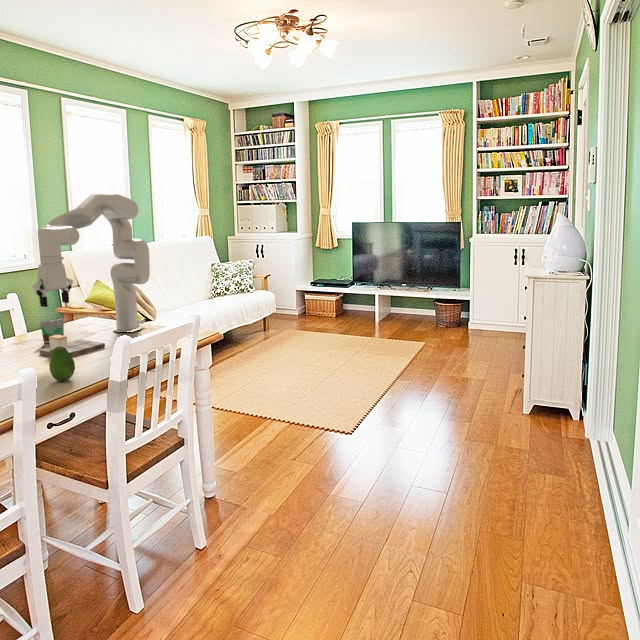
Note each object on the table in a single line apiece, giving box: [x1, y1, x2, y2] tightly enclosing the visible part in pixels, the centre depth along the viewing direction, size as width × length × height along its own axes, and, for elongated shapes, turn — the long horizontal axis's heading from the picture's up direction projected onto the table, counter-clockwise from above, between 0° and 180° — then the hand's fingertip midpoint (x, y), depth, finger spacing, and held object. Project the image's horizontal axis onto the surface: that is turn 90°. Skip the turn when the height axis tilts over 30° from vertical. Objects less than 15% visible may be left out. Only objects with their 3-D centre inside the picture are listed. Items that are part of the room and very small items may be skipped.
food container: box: [39, 316, 66, 345], centre depth 248 cm, size 12×6×10 cm, turn 168°
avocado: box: [49, 347, 76, 382], centre depth 196 cm, size 8×8×12 cm
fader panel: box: [38, 339, 106, 358], centre depth 235 cm, size 20×14×2 cm
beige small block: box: [49, 335, 68, 350], centre depth 228 cm, size 4×5×5 cm
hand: (55, 304), depth 225 cm, fingers open, 9 cm apart
